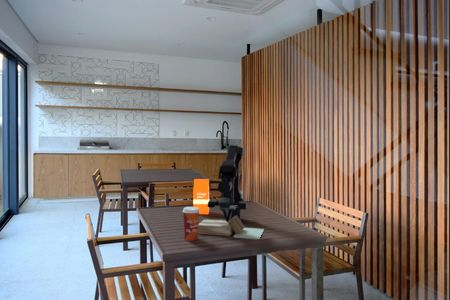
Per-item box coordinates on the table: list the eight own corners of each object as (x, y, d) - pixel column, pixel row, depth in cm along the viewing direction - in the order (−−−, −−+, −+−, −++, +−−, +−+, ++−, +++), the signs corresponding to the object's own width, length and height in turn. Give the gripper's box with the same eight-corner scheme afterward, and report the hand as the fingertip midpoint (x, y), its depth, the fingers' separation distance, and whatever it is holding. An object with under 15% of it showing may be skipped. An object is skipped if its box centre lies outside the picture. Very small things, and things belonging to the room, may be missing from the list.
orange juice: (208, 214, 213) (208, 180, 212) (193, 214, 213) (193, 179, 212) (209, 211, 221) (209, 178, 220) (194, 211, 221) (194, 178, 220)
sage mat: (240, 228, 183) (240, 227, 183) (264, 230, 180) (264, 229, 180) (233, 237, 168) (233, 236, 168) (259, 239, 165) (259, 238, 165)
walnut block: (232, 217, 180) (236, 215, 179) (240, 229, 179) (244, 226, 178) (227, 222, 171) (232, 219, 170) (236, 234, 170) (241, 231, 170)
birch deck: (204, 226, 185) (204, 219, 185) (235, 229, 182) (235, 221, 181) (197, 233, 174) (197, 225, 173) (230, 235, 170) (230, 227, 170)
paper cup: (188, 242, 160) (188, 211, 159) (179, 238, 166) (179, 207, 165) (203, 239, 164) (203, 208, 163) (194, 235, 170) (194, 205, 170)
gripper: (204, 191, 170) (204, 225, 171) (243, 193, 165) (243, 227, 166) (210, 188, 180) (210, 219, 181) (248, 189, 176) (247, 221, 177)
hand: (227, 222), depth 176 cm, fingers closed
